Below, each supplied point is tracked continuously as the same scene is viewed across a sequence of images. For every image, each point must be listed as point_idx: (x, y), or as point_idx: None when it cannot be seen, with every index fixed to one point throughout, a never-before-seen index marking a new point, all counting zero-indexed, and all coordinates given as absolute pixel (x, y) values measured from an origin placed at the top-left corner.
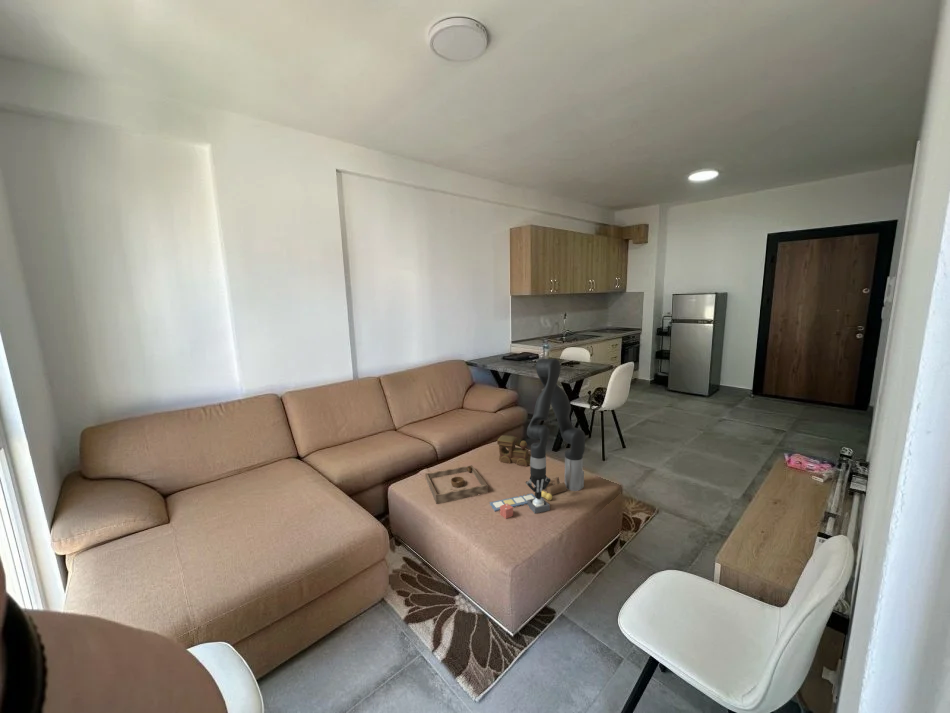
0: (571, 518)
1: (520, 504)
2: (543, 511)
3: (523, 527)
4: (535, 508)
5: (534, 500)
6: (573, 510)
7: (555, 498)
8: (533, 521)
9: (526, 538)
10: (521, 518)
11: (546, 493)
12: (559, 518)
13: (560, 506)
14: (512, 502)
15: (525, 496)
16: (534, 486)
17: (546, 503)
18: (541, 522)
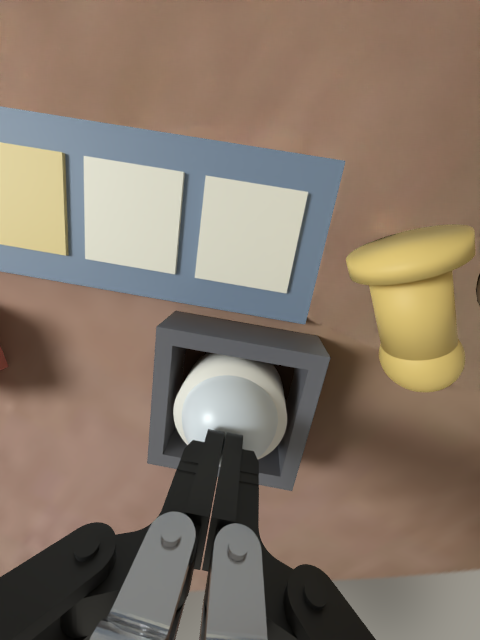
0: (337, 569)
1: (110, 289)
2: None
3: (26, 488)
4: (153, 461)
5: (187, 417)
6: (426, 530)
7: (473, 354)
8: (109, 479)
9: (6, 551)
10: (51, 420)
11: (426, 350)
12: (274, 536)
13: (395, 457)
14: (47, 224)
15: (228, 192)
16: (106, 632)
17: (283, 463)
18: (149, 509)
